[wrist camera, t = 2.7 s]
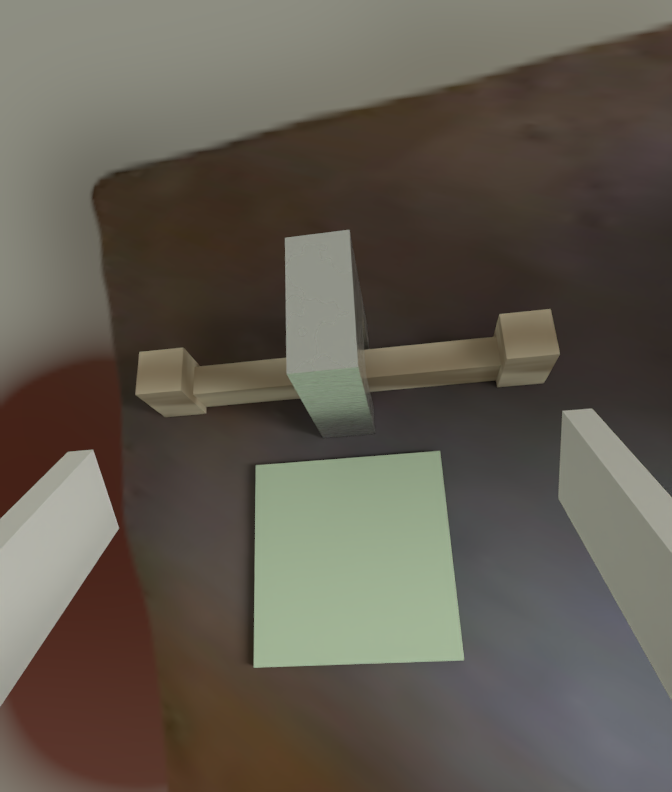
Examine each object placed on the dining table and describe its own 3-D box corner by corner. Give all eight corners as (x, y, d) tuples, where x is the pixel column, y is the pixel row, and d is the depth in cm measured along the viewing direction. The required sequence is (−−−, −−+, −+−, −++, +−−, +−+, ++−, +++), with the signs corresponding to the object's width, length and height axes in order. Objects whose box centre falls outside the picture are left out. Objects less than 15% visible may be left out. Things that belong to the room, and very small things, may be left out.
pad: (258, 467, 37) (255, 465, 36) (439, 453, 36) (439, 450, 35) (256, 666, 33) (253, 667, 32) (463, 659, 31) (464, 660, 31)
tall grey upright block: (319, 332, 40) (285, 237, 30) (367, 326, 40) (349, 229, 29) (323, 438, 37) (286, 374, 27) (375, 433, 37) (358, 367, 26)
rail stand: (168, 378, 40) (139, 352, 36) (536, 342, 37) (550, 308, 33) (165, 417, 39) (135, 394, 35) (543, 383, 36) (560, 353, 32)
